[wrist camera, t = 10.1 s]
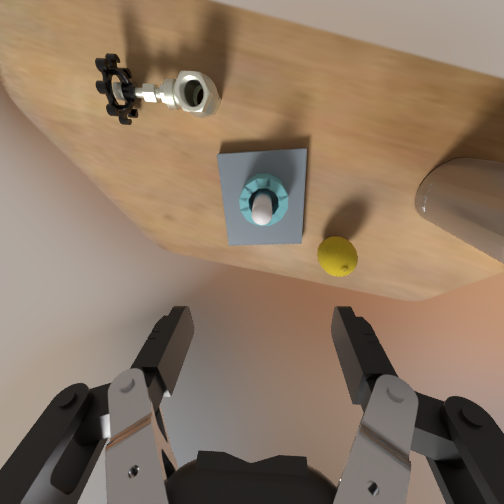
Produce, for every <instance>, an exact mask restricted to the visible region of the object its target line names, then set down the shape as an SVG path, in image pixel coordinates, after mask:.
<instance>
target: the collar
mask: <svg viewBox="0 0 504 504" xmlns="http://www.w3.org/2000/svg"><path fill="white" fill-rule="evenodd" d="M261 188H268V189H270V190H272V191H273V192H275V194H276V195H277V197H278V200H277V201H276V203H275V205H274V206H273V207H272V219H271V221H270V222H269V223H267V224H265V225H258V224H256V223H255V222H254V221H253V219H252V208H253V204H252V202H251V200H250V196H251V194H252V193H253V192H254V191H256V190H257V189H261ZM239 202H240V211H241V213H242V214H243V215H244V217H245V218H246V220H247V221H249V222H251V223H253V224H255V225H257V226H271V225H273V224H274V223H276V222H278V221H280V220H281V219H282V218H283V216H284V214H285V213H286V211H287V209H288V194H287V191H286V189H285V187H284V185H283V184H282V182H281V180H280V179H279V178H277V177H275V176H273V175H271V174H270V173H267V174H256V175H255V176H253V177H252V178H250V179H249V180H247V181H246V184H245V186H244V188H243V190H242V192H241V195H240V197H239Z"/></svg>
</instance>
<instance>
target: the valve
mask: <svg viewBox="0 0 504 504" xmlns="http://www.w3.org/2000/svg"><path fill="white" fill-rule="evenodd" d="M105 57H106V58H96V60H95V63H96V67H97V69H98V70H99V71H100V72H101V73H102V75H103V81H96V88H97V90H98V92H99V93H101V94H106V96H107V99H108V102H109V104H107V106H106V110H107V112H108V114H109V115H110V116H119V121H120V123H121V124H123V125H131V123H132V120H131V119H128V118H127V115H128V117H130V118H138V111H137V109H133V106H134V103H140V102H141V98H144V99H145V101H146V102H154V103H160V100H162V102H163V103H166V105H167V107H168V108H169V109H170V110H180V109H181V107H182V108H183V110H184V111H187V112H190V113H191V114H192V115H194V116H196V117H199V118H205V117H208V116H210V115H215V113H216V111H217V109H218V107H219V105H220V103H221V98H220V96H219V94H218V91H217V88H216V86H215V84H214V82H213V81H212V80H211V79H210V78H209V77H208V76H207V75H205V74H203V73H201V72H196V71H180V73H179V75H178V78H177V80H176V79H175V78H165V79H164V82H163V85H162V84H161V85H160V88H158V85H155V84H145V83H143V85H142V88H140V87H139V86H138V84H137V83H136V82H131V81H130V79H131V78H132V76H131V72H130V70H129V69H128V68H118V67H117V63H120V59H119V57H118V56H117V55H116V54H109V53H107V54H106V56H105ZM113 75H116V76H117V77H118V78H119V80H120V83H119V82H114V83H113V90H112V83H111V80H112V76H113ZM202 88H203V92H204V96H203V100H202V102H201V103H200V104H199V105H198V102H197V94H198V92H199V91H200V90H201V89H202ZM113 92H114V94H115V96H116V98H117V99H118V100H124V101H125V105H119V104H118V102H117V101H116V99H115V96H114V94H113Z"/></svg>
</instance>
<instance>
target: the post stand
mask: <svg viewBox="0 0 504 504" xmlns="http://www.w3.org/2000/svg"><path fill="white" fill-rule="evenodd" d="M306 156H307V148H294V149H279V150H264V151H248V152H233V153H219V154H217V159H218V166H219V174H220V182H221V189H222V197H223V204H224V212H225V219H226V227H227V235H228V242H229V246H232V245H266V244H301V243H302V227H303V209H304V192H305V174H306ZM267 173H270V174H271V175H273V176H275V177H277V178H279V179H280V180H281V182H282V184H283V185H284V187H285V189H286V191H287V194H288V209H287V211H286V213H285V214H284V216H283V218H282V219H281V220H280V221H278V222H276V223H274V224H273V225H271V226H257V225H255V224H253V223H251V222H249V221H247V220H246V218H245V217H244V215H243V214H242V213H241V211H240V202H239V197H240V195H241V192H242V190H243V188H244V186H245V184H246V181H247V180H249V179H250V178H252V177H253V176H255V175H256V174H267ZM250 200H251V202H252V204H253V208H252V219H253V221H254V222H255V223H256V224H258V225H265V224H267V223H269V222H270V221H271V219H272V207H273V206H274V205H275V203H276V201H277V200H278V197H277V195H276V194H275V192H273V191H272V190H270V189H268V188H261V189H257V190H256V191H254V192H253V193H252V194H251V196H250Z"/></svg>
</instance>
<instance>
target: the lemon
mask: <svg viewBox="0 0 504 504" xmlns="http://www.w3.org/2000/svg"><path fill="white" fill-rule="evenodd" d="M317 256H318V261H319V263H320V265H321V267H322V268H323V269H324V270H325V271H326V272H327V273H329V274H331V275H333V276H339V277H341V276H345V275H348V274H350V273H351V272H352V271H353V270H354V269H355V268H356V265H357V261H358V256H357V252H356V249H355V248H354V246H353V245H352V243H350V242H349V241H348V240H347V239H345V238H342V237H338V236H334V237H329V238H327V239H325V240H324V241H323V242H322V243H321V244H320V246H319V248H318V253H317Z"/></svg>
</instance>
